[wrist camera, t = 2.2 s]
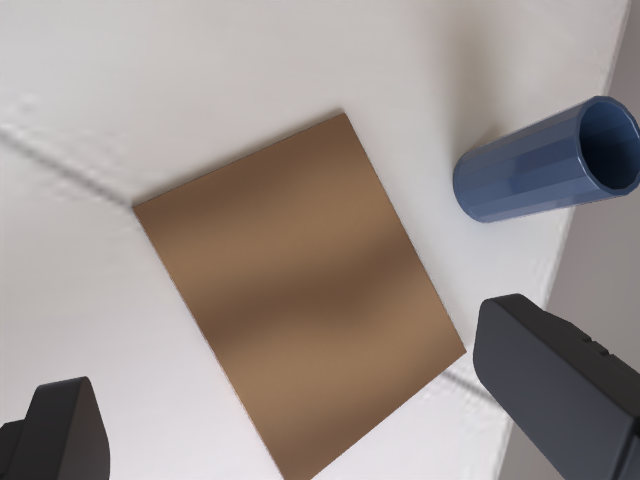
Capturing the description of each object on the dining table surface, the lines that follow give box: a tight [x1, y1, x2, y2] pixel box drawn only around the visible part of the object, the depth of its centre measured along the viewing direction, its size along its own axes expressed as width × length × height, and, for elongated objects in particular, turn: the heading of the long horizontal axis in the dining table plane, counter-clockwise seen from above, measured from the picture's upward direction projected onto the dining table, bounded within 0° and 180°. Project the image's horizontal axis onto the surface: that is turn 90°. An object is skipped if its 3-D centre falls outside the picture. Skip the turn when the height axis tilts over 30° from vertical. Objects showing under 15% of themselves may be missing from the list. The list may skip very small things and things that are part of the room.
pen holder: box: [453, 96, 640, 223], centre depth 33 cm, size 6×6×11 cm
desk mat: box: [132, 113, 467, 480], centre depth 31 cm, size 20×16×1 cm
